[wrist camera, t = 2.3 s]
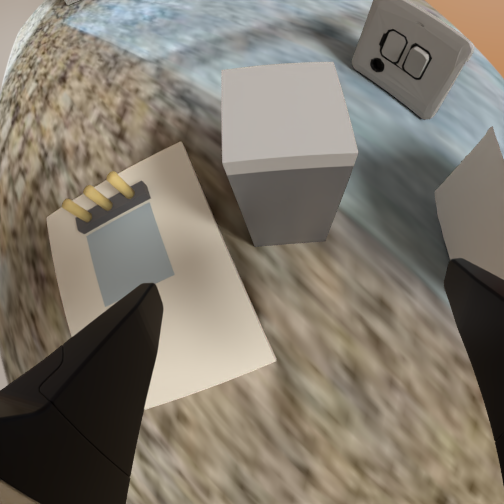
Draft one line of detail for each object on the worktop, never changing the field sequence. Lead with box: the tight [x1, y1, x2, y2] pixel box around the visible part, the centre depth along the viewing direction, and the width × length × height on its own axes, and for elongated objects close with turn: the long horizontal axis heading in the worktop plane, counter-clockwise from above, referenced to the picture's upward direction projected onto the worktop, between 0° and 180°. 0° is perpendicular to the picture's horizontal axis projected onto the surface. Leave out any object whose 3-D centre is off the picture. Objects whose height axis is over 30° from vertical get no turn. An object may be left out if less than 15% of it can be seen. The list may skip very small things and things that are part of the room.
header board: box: [46, 141, 277, 410], centre depth 21 cm, size 18×14×5 cm
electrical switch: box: [351, 0, 474, 120], centre depth 21 cm, size 9×5×9 cm, turn 43°
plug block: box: [222, 62, 358, 247], centre depth 18 cm, size 5×5×12 cm
